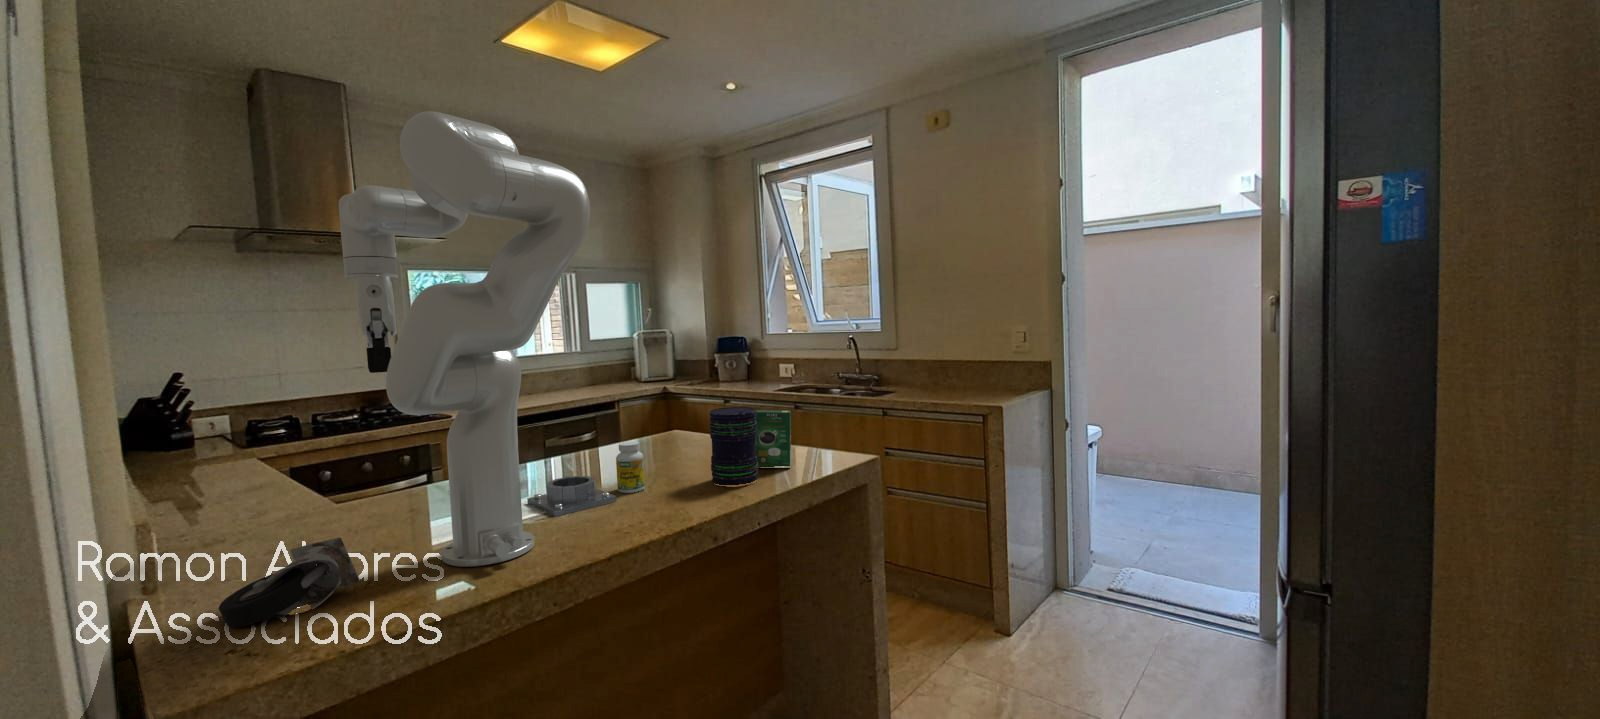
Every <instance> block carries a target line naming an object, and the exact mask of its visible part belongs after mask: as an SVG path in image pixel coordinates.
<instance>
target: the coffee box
mask: <svg viewBox="0 0 1600 719" xmlns="http://www.w3.org/2000/svg"><path fill="white" fill-rule="evenodd" d="M791 412H792V410H764V409H762V410H760V409H759V410H757V409H756V414H755V416H756V422H757V428H756V429H757V436H756V454H757V456H758V461H757V462H758V467H774V466H790V465H791V466H792V446H791V445H792V444H791V443H792V435H791V434H792V428H791V427H792V413H791Z"/></svg>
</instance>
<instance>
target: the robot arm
mask: <svg viewBox="0 0 1600 719" xmlns="http://www.w3.org/2000/svg"><path fill="white" fill-rule="evenodd" d="M399 150H400V154H401V159H402V160H403V163H404V164H405V165H406V167H407V168H408V170H409V172H410V173H409V177H410V178H409V179H410V183H411V185H412V188H413V190H409V189H401V188H395V187H389V186H387V187H386V186H380V185H374V184H373V185H371V184H369V185H362V186H359V187H357V188H356V189H355V190H354V191H353V193H348V194H345V195H343V196H341V197H340V199H339V200H338V213H339V214H338V216H339V224H340V225H339V226H340V238H341V248H342V260H343V271H344V279H345V280H353V283H354V284H353V286H354V292H355V293H354V294H355V304H356V305H355V306H356V312H357V318H358V323H359V328H360V332H361V334H362V336H363V337H366V338H367V347H366V358H367V361H366V362H367V369H368V372H369V373H371V374H375V373H386V376H385V388H386V395H387V398H388V400H389V402H390V404H391V405H392V406H393V407H394V408H395V409H396V410H397V411H399V412H401V413H403V414H406V415H410V416H426V415H435V414H441V413H443V414H444V413H450V412H454V411H455V412H456V411H457V414H456V415H455V417H454V419H453V421H452V423H451V425H450V427H449V429H448V433H447V438H446V456H447V470H448V474H447V475H448V487H449V489H448V490H449V499H450V501H449V504H450V514H451V515H450V516H451V529H452V542H451V543H449V544H448V545H446V546H445V547H444V548H443V549H442V551H441V560H442V562H444V563H445V564H447V565H450V566H451V567H452V566H453V567H465V568H467V567H469V568H470V567H481V566H488V565H489V566H490V565H492V564H494V565H495V564H498V563H502V562H507V561H509V560H513V559H515V558H518V557H520V556H522V555H524V554H526V553H528V552H529V551H530V550H531V549H533V547H534V546H535V536H534V535H533V534H532V533H530V532H529V531H525V530H524V528H523V512H522V511H523V510H522V509H523V508H522V492H521V491H522V490H521V477H520V460H519V437H518V433H519V432H518V408H519V407H518V405H519V398H520V391H521V385H522V384H521V383H522V367H521V363H520V359H519V358H518V357H517V355H516V353H514V351H513V350H517V349H520V348H522V347H524V346H525V345H526V344H527V343H528V342H529V341H530V340H531V338H532V337H533V334H534V332H535V330H536V328H537V327H538V325H539V322H540V321H541V319H542V316H544V315H543V314H544V312H545V311H546V308H547V307H548V304H549V302H550V301H551V298H552V296H553V294H554V292H555V289H556V287H557V285H558V283H559V281H560V279H561V277H562V275H564V272H566V270H567V268H568V266H569V265H570V264H571V262H572V261H573V259H574V258H575V257H576V255H577V253H578V252H579V250H580V248H581V246H582V244H583V242H584V240H585V239H586V236H587V233H588V230H589V225H590V220H591V203H590V198H589V193H588V191H587V188H586V185H585V184H584V182H583V181H582V179H581V178H580V177H579V176H578V175H577V174H576V173H575V172H573V171H571V170H570V169H568V168H566V167H564V166H562V165H559V164H557V163H554V162H551V161H548V160H544V159H540V158H535V157H531V156H527V155H523V154H520V153H519V150H518V148H517V145H516V144H515V142H514V141H513V139H512V137H510V136H509V135H508V134H506V133H505V132H504V131H502V130H501V129H499V128H496V127H494V126H492V125H489V124H486V123H482V122H479V121H474V120H470V119H466V118H463V117H458V116H454V115H452V114H447V113H443V112H440V111H432V110H427V111H423V112H419V113H417V114H415V115H413V116H411V117H410V118H409V119H408V121H407V122H406V123H405V124H404V126H403V128H402V130H401V133H400V137H399ZM469 215H470V216H474V217H479V218H480V217H481V218H490V219H497V220H505V221H513V222H521V223H522V222H523V223H527V225H526V227H525V228H524V229H522V230H521V231H520V232H518V233H516V234H514V235H513V236H512V237H510V239H509V240H507V241H506V242H505V243H504V244H503V246H501V248H500V249H498V251H497V253H496V254H495V256H494V257H493V260H492V263H491V266H490V267H489V269H488V272H487V274H486V275H485V277H484V278H483V279H481V280H479V281H476V282H442V283H441V282H440V283H436V284H432V285H430V286H427V287H426V288H424V289H423V290H421V292H419V293H418V294H417V295H416V297H415V298H414V299H413V302H412V303H411V306H410V307H409V309H408V312H407V314H406V317H405V320H404V322H403V325H402V327H401V331H400V333H399V335H398V338H397V341H396V343H395V345H394V349H393V352H392V350H391V349H392V348H391V347H390V342H389V337H388V333H390V335H391V337H392V336H393V337H394V336H396V335H397V334H398V329H397V328H398V326H397V317H396V306H395V304H396V303H395V295H394V288H393V283H392V280H398V279H399V268H398V259H397V248H396V246H397V245H396V236H400V237H401V236H402V237H412V238H423V239H437V238H440V237H443V236H446V235H448V234H450V233H452V232H453V233H454V231H456V230H458V229H460V228H461V227H463V225H464V224H465V223H466V221H467V219H468V216H469Z"/></svg>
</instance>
